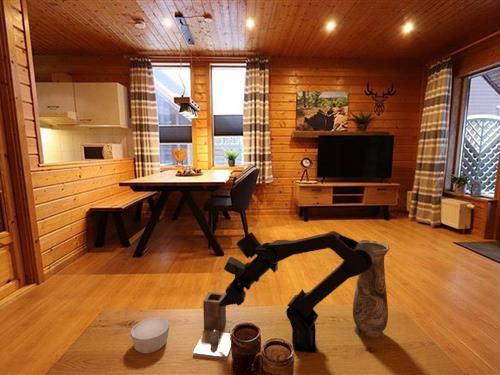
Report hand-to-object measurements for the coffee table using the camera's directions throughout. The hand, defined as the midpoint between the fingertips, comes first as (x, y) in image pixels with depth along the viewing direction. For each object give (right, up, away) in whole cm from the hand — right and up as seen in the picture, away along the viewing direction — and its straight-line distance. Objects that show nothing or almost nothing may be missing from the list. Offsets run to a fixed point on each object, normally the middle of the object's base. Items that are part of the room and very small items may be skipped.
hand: (223, 297), depth 89 cm
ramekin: (-22, -11, -7) cm, 26 cm away
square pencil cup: (-3, -10, +1) cm, 10 cm away
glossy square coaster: (-2, -11, -9) cm, 14 cm away
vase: (+48, -10, -3) cm, 49 cm away
